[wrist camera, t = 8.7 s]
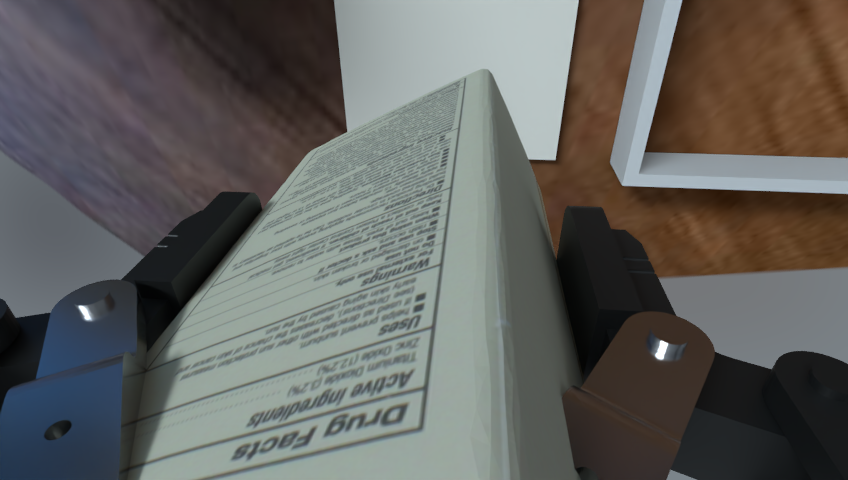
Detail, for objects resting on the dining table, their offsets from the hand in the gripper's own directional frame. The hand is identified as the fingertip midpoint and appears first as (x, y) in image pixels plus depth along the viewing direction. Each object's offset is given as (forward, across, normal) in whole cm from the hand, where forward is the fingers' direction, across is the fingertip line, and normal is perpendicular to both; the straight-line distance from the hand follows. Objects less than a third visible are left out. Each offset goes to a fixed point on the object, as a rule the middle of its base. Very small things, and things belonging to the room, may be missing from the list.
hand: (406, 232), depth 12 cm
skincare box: (+4, 0, 0) cm, 4 cm away
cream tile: (+22, 0, 0) cm, 22 cm away
